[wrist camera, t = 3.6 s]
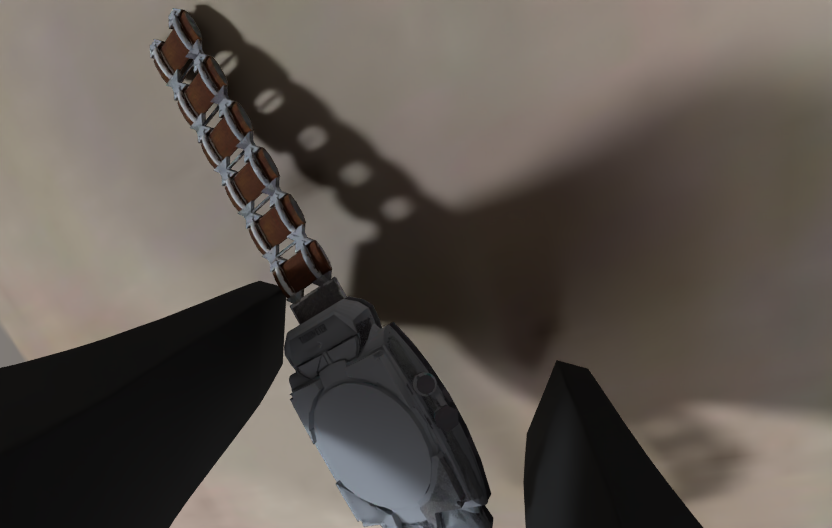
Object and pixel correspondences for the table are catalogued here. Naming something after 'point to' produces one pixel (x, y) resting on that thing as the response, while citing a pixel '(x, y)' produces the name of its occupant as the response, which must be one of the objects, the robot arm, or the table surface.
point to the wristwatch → (337, 337)
